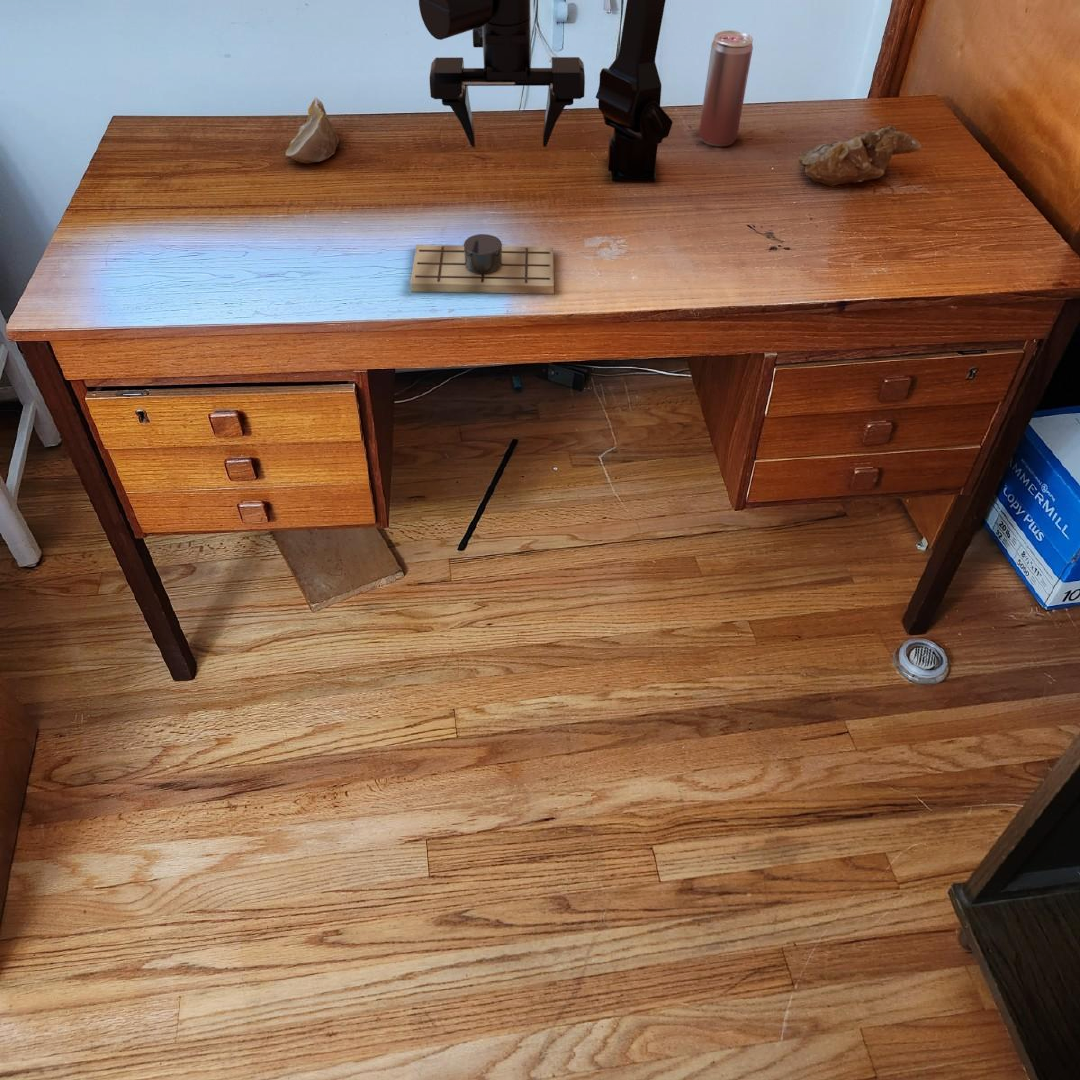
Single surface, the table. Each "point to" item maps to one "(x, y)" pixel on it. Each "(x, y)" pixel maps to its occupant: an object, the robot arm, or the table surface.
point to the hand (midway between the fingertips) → (509, 145)
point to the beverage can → (725, 87)
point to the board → (516, 275)
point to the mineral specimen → (856, 156)
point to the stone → (314, 137)
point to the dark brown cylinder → (483, 253)
